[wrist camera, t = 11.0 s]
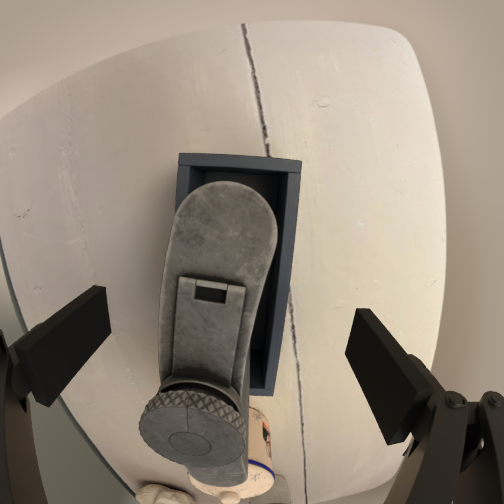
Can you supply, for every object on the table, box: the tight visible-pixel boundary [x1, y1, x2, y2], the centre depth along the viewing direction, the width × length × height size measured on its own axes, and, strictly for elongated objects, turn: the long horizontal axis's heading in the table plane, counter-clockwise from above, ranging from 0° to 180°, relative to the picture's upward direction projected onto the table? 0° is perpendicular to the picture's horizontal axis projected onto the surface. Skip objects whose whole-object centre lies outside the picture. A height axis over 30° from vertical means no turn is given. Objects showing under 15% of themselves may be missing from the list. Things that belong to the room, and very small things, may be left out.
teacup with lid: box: [188, 408, 275, 504], centre depth 24 cm, size 12×9×12 cm
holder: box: [175, 153, 302, 396], centre depth 22 cm, size 18×8×7 cm, turn 176°
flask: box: [139, 181, 278, 487], centre depth 15 cm, size 4×14×18 cm, turn 176°
